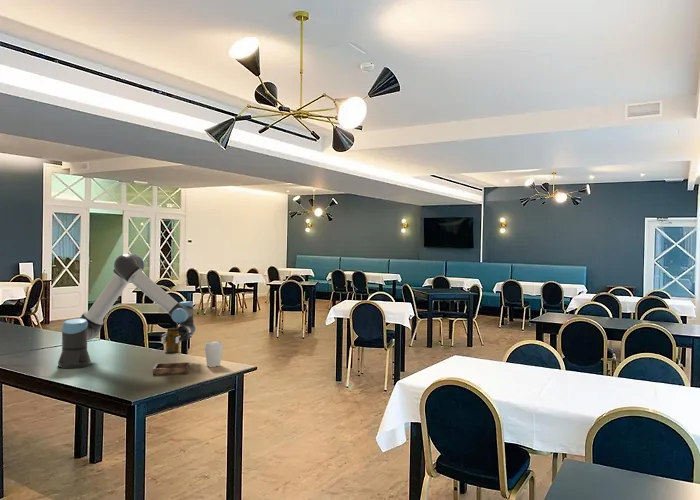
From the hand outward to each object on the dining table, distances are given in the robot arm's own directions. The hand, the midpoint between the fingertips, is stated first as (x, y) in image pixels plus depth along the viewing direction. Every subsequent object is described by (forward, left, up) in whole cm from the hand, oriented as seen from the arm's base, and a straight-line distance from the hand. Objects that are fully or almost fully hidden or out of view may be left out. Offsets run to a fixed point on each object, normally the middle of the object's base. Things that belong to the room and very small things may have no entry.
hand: (169, 340), depth 269 cm
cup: (+21, +16, -17) cm, 31 cm away
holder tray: (+1, +5, -16) cm, 17 cm away
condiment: (+1, +5, -7) cm, 9 cm away
